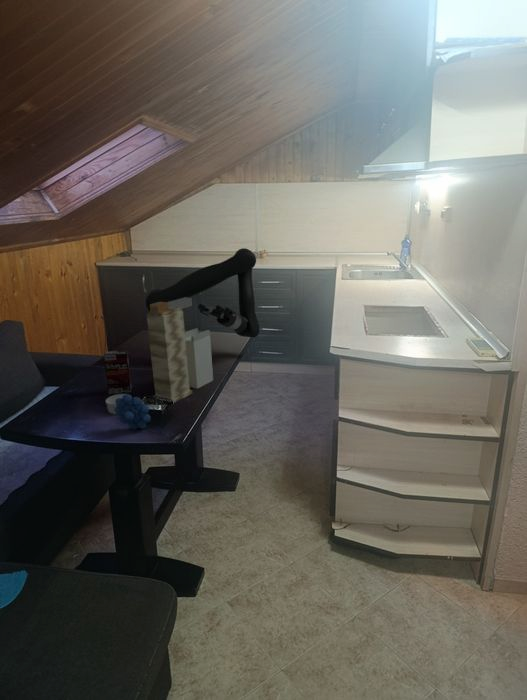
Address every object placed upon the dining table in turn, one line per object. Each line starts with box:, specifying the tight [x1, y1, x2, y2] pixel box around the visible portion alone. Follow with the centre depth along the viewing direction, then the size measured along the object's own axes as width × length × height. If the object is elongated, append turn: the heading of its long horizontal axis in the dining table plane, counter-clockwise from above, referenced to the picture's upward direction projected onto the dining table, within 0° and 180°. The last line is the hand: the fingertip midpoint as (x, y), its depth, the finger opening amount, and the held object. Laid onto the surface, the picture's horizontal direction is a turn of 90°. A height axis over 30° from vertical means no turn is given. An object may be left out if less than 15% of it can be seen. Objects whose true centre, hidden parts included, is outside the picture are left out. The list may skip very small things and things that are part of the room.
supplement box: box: [103, 349, 133, 395], centre depth 180 cm, size 9×5×16 cm, turn 101°
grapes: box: [114, 393, 152, 430], centre depth 148 cm, size 12×7×12 cm, turn 83°
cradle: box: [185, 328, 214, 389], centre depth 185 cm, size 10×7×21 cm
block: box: [150, 297, 193, 316], centre depth 169 cm, size 18×4×4 cm, turn 148°
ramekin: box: [105, 393, 132, 415], centre depth 165 cm, size 9×9×4 cm
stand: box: [146, 308, 193, 404], centre depth 171 cm, size 11×10×33 cm
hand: (207, 306), depth 186 cm, fingers open, 8 cm apart
